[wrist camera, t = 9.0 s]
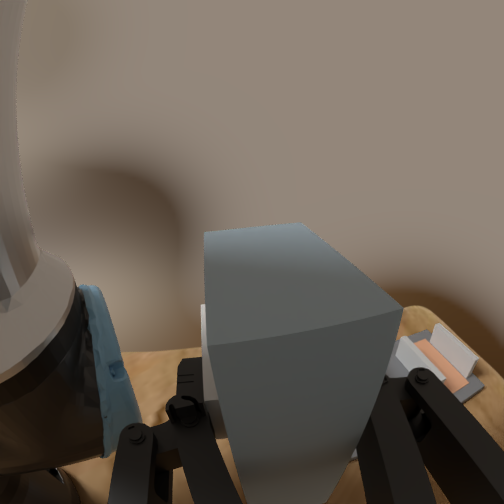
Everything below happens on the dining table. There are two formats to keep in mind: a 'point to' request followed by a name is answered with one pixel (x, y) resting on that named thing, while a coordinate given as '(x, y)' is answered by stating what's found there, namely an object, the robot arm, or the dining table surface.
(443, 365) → the rack
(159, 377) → the dining table surface
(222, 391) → the tall grey pillar
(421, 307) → the dining table surface
